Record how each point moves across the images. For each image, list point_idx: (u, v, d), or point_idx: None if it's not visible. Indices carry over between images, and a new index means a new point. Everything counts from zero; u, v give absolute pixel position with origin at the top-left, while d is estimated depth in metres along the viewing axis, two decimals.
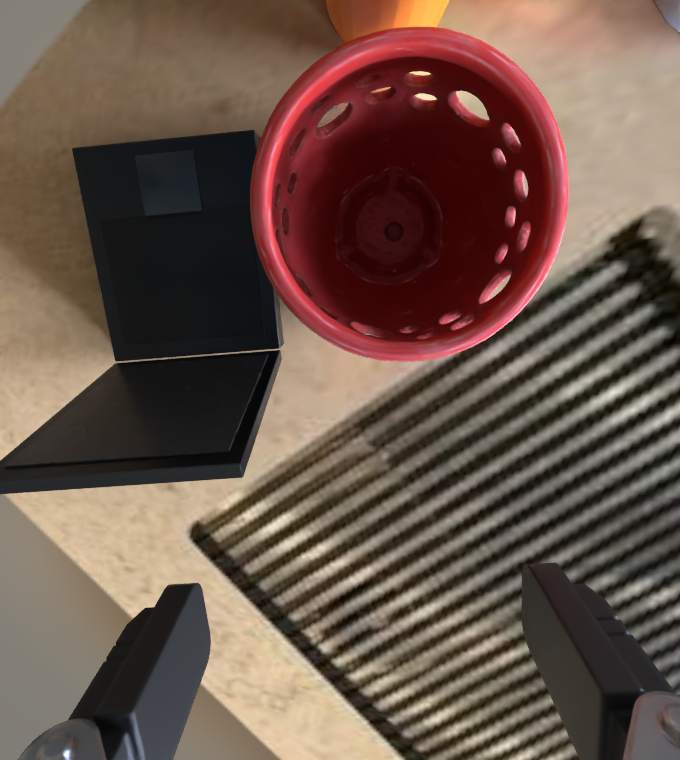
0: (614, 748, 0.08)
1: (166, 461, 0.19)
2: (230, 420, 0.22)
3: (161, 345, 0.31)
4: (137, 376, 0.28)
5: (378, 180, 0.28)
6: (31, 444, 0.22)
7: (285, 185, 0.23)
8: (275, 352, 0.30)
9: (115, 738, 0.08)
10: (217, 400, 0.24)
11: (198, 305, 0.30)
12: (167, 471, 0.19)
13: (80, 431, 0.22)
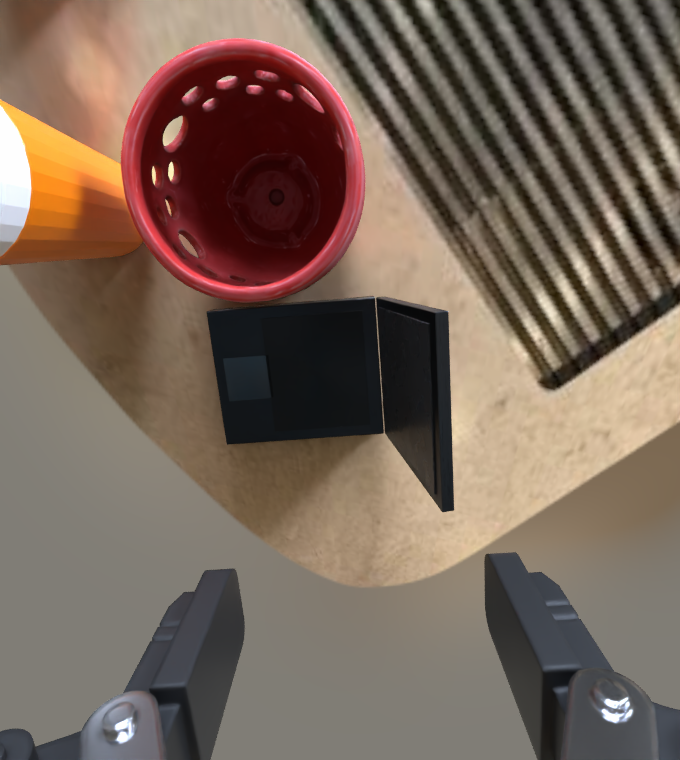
0: (554, 721, 0.08)
1: (433, 372, 0.25)
2: (412, 327, 0.27)
3: (370, 395, 0.38)
4: (391, 412, 0.35)
5: (237, 211, 0.35)
6: (424, 479, 0.28)
7: (238, 282, 0.31)
8: (377, 301, 0.35)
9: (170, 710, 0.08)
10: (402, 342, 0.29)
11: (338, 363, 0.37)
12: (440, 371, 0.24)
13: (418, 445, 0.29)
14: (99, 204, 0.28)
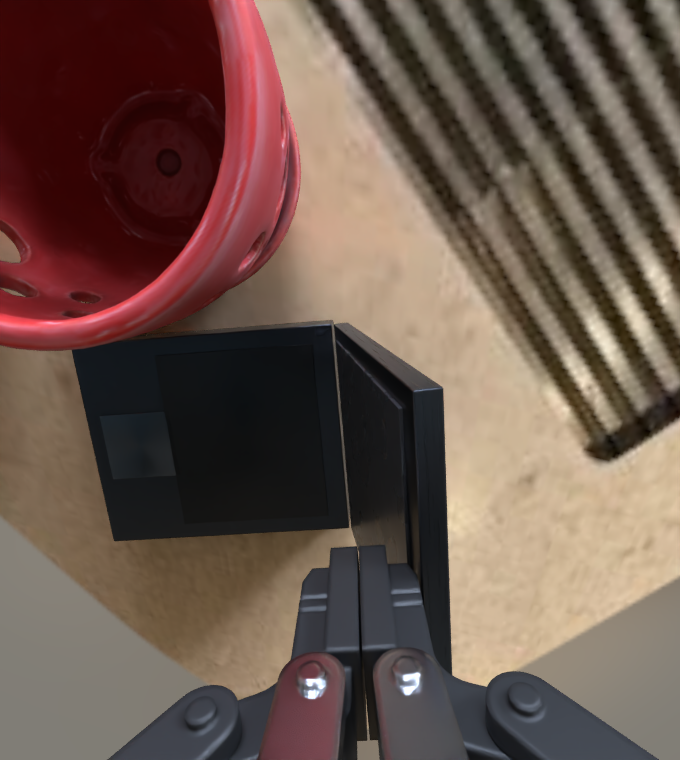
0: (375, 696, 0.09)
1: (412, 512, 0.11)
2: (376, 399, 0.14)
3: (328, 473, 0.24)
4: (355, 509, 0.22)
5: (109, 187, 0.22)
6: None
7: (79, 304, 0.18)
8: (335, 330, 0.22)
9: (344, 671, 0.09)
10: (363, 414, 0.16)
11: (277, 425, 0.24)
12: (424, 515, 0.11)
13: None
14: None
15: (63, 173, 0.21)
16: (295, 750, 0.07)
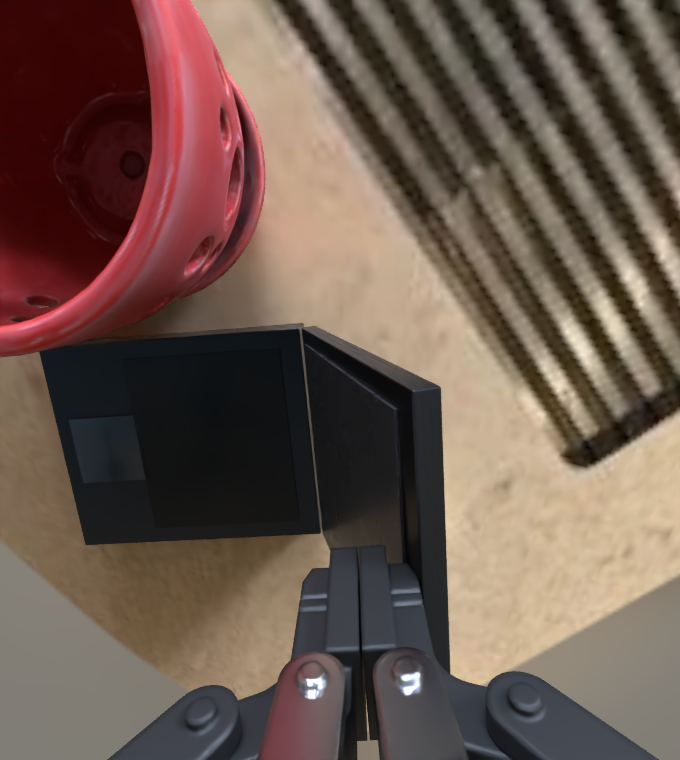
0: (375, 697, 0.09)
1: (409, 512, 0.11)
2: (361, 401, 0.14)
3: (298, 478, 0.24)
4: (329, 514, 0.22)
5: (74, 190, 0.21)
6: None
7: (33, 309, 0.17)
8: (303, 334, 0.22)
9: (344, 671, 0.09)
10: (343, 417, 0.16)
11: (246, 429, 0.24)
12: (423, 515, 0.11)
13: None
14: None
15: (26, 176, 0.20)
16: (295, 750, 0.07)
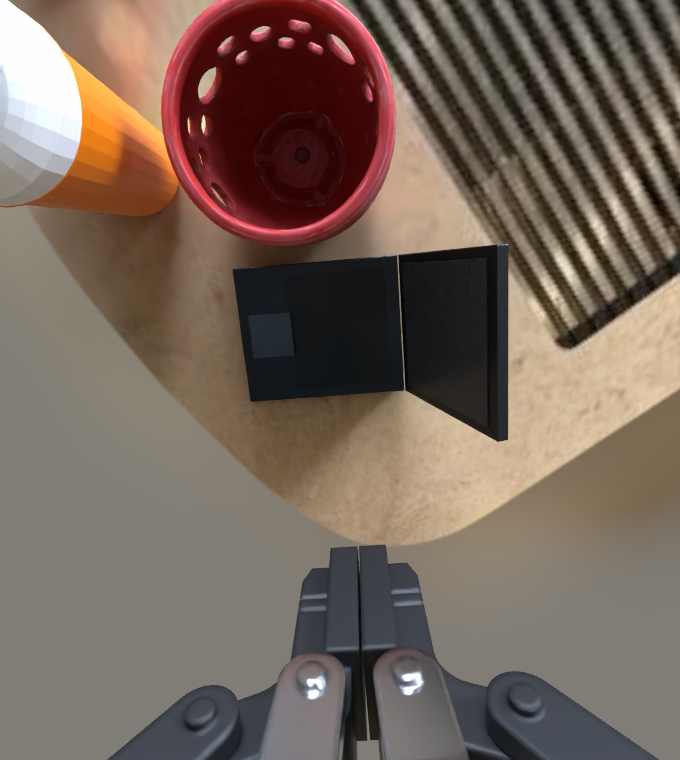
0: (375, 696, 0.09)
1: (491, 305, 0.26)
2: (460, 268, 0.28)
3: (392, 352, 0.39)
4: (418, 365, 0.36)
5: (264, 170, 0.36)
6: (471, 416, 0.30)
7: None
8: (400, 258, 0.36)
9: (344, 672, 0.09)
10: (442, 287, 0.31)
11: (360, 321, 0.38)
12: (499, 302, 0.25)
13: (463, 385, 0.30)
14: (136, 153, 0.29)
15: (241, 161, 0.35)
16: (295, 750, 0.07)
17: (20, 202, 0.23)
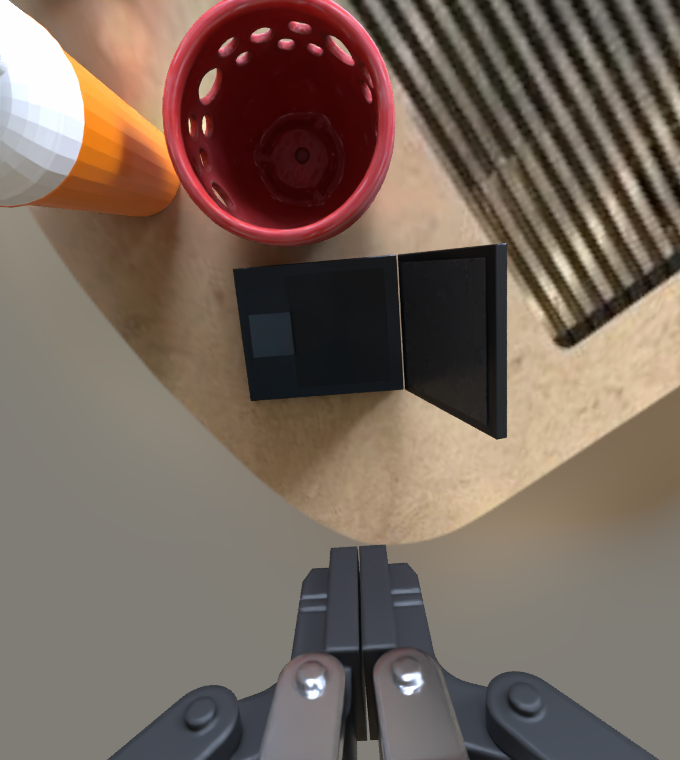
0: (375, 696, 0.09)
1: (490, 304, 0.26)
2: (459, 268, 0.28)
3: (391, 352, 0.39)
4: (417, 364, 0.36)
5: (264, 170, 0.36)
6: (470, 415, 0.30)
7: None
8: (399, 258, 0.37)
9: (344, 672, 0.09)
10: (441, 287, 0.31)
11: (360, 320, 0.38)
12: (498, 301, 0.26)
13: (462, 383, 0.30)
14: (137, 154, 0.29)
15: (241, 161, 0.35)
16: (296, 750, 0.07)
17: (23, 202, 0.23)
